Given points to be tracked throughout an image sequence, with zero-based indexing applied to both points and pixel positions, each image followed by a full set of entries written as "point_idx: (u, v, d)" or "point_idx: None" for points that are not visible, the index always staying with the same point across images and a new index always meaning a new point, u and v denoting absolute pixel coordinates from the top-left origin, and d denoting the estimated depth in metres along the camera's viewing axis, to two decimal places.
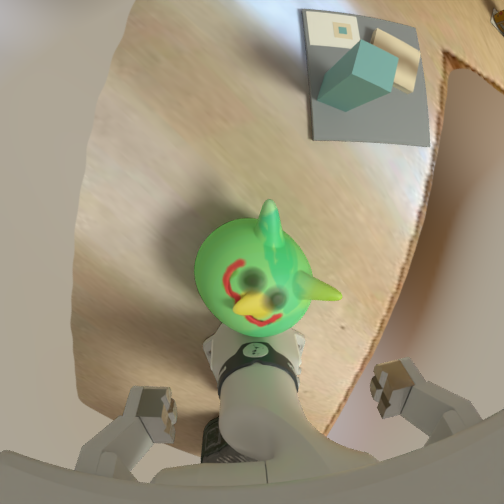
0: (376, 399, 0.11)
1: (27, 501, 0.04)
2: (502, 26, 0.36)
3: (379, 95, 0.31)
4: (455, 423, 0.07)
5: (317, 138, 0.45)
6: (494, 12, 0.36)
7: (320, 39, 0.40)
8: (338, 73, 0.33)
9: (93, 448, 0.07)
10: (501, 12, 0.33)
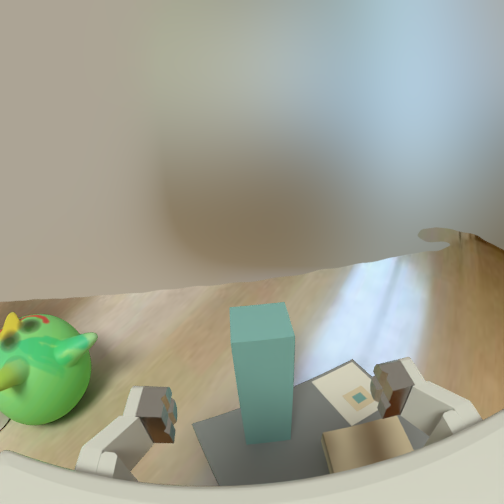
0: (376, 399, 0.11)
1: (27, 501, 0.04)
2: None
3: None
4: (455, 423, 0.07)
5: (195, 426, 0.32)
6: None
7: (327, 387, 0.37)
8: None
9: (93, 448, 0.07)
10: None
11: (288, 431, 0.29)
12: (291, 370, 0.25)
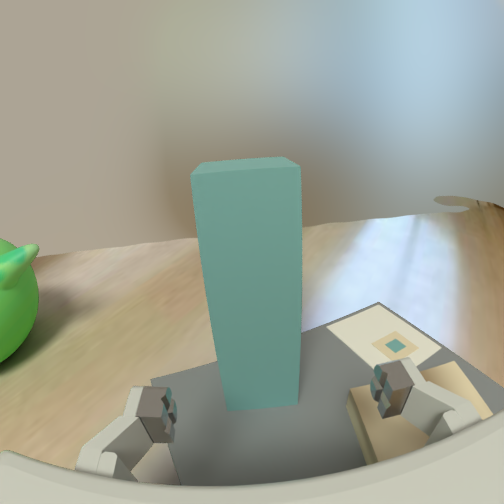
0: (376, 399, 0.11)
1: (27, 501, 0.04)
2: None
3: (197, 226, 0.15)
4: (455, 423, 0.07)
5: (154, 383, 0.22)
6: None
7: (348, 333, 0.27)
8: None
9: (93, 448, 0.07)
10: None
11: (294, 386, 0.19)
12: (297, 246, 0.15)
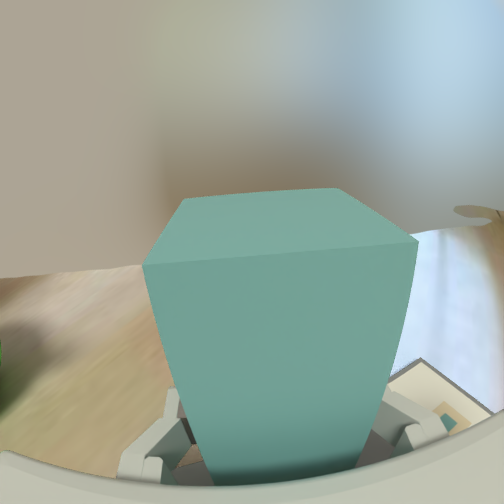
0: None
1: (27, 501, 0.04)
2: None
3: None
4: (418, 438, 0.07)
5: None
6: None
7: None
8: None
9: (135, 454, 0.07)
10: None
11: None
12: (378, 388, 0.07)
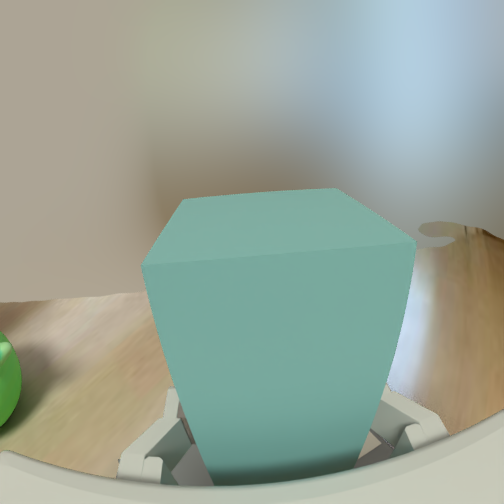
0: None
1: (27, 501, 0.04)
2: None
3: None
4: (418, 438, 0.07)
5: None
6: None
7: None
8: None
9: (135, 454, 0.07)
10: None
11: None
12: (377, 388, 0.07)
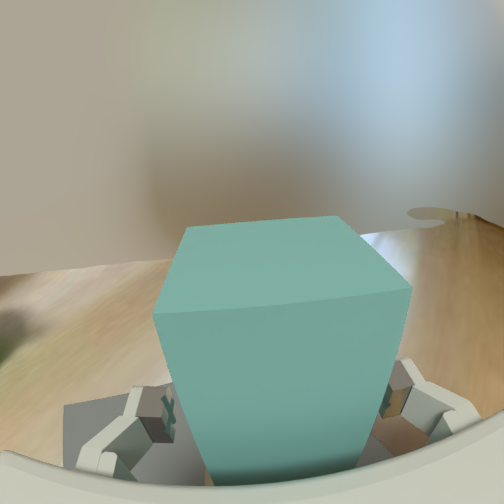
0: None
1: (27, 501, 0.04)
2: None
3: None
4: (455, 423, 0.07)
5: (66, 409, 0.22)
6: None
7: None
8: None
9: (93, 448, 0.07)
10: None
11: None
12: (371, 411, 0.07)
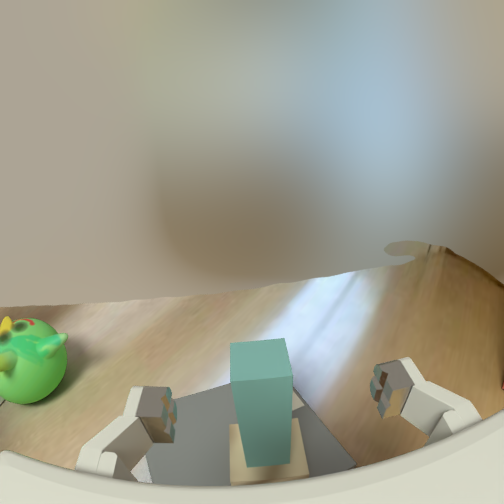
0: (376, 399, 0.11)
1: (27, 501, 0.04)
2: None
3: (233, 398, 0.24)
4: (455, 423, 0.07)
5: None
6: None
7: None
8: None
9: (93, 448, 0.07)
10: None
11: (287, 456, 0.28)
12: (289, 404, 0.25)
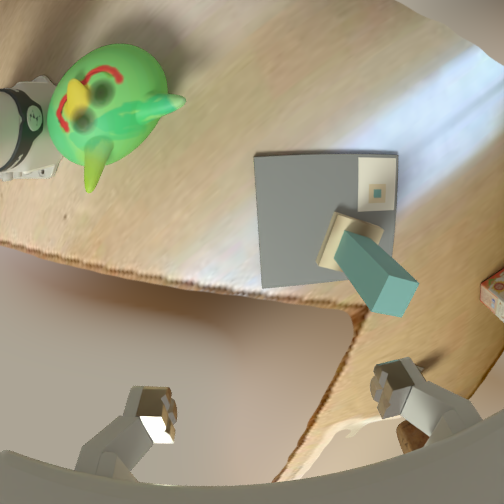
0: (376, 399, 0.11)
1: (27, 501, 0.04)
2: None
3: (364, 298, 0.37)
4: (455, 423, 0.07)
5: (256, 160, 0.44)
6: (419, 368, 0.66)
7: (365, 169, 0.46)
8: (380, 257, 0.39)
9: (93, 448, 0.07)
10: None
11: None
12: None
